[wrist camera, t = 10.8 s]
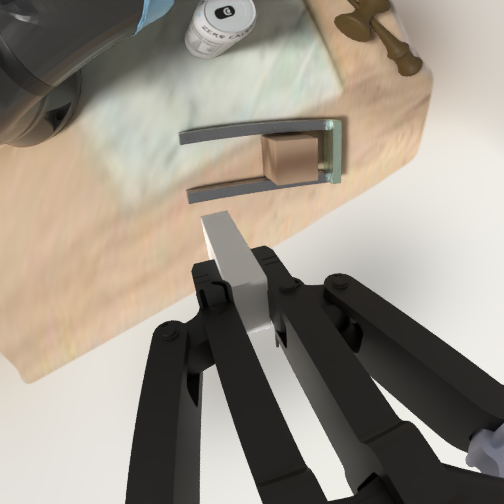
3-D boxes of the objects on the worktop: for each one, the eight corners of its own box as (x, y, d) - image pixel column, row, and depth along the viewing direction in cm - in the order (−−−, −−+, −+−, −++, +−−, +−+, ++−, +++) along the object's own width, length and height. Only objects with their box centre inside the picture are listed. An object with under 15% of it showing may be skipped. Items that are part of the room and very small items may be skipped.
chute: (178, 132, 38) (179, 134, 36) (331, 118, 43) (341, 120, 41) (187, 199, 43) (189, 206, 41) (331, 177, 48) (340, 182, 46)
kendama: (390, 86, 43) (310, 7, 33) (410, 53, 41) (338, -24, 31) (414, 88, 38) (331, -2, 28) (434, 53, 36) (360, -33, 26)
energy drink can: (234, 50, 35) (271, 27, 22) (194, 66, 34) (211, 48, 22) (218, 15, 31) (247, -23, 19) (177, 30, 31) (186, -5, 19)
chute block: (261, 135, 42) (275, 141, 37) (299, 132, 43) (317, 138, 38) (263, 174, 45) (277, 185, 40) (300, 169, 46) (318, 180, 41)
